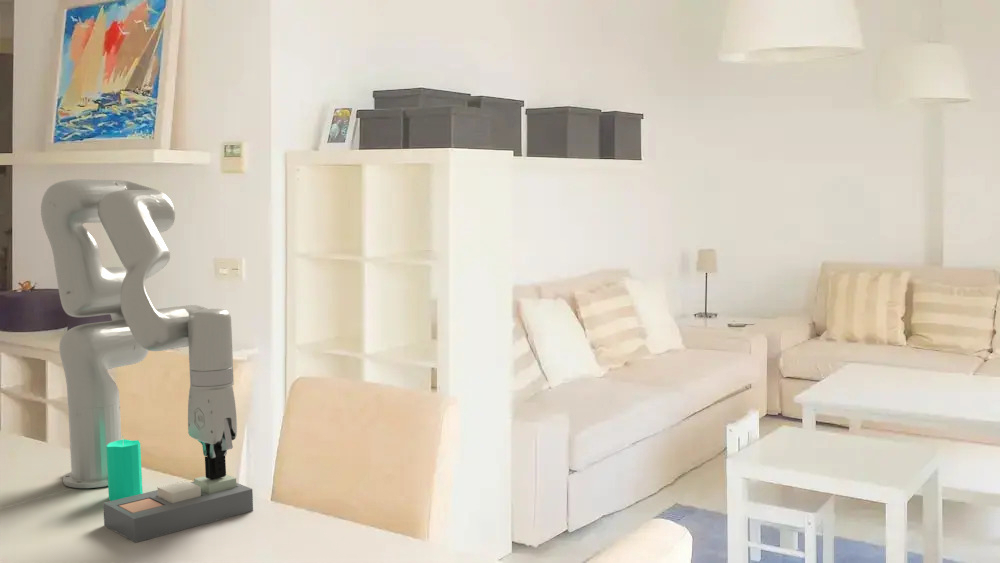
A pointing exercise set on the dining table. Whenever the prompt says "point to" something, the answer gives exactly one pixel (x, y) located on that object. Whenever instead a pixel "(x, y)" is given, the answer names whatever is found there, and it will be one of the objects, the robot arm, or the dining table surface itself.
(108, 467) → the candle
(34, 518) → the dining table surface
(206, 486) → the key sage
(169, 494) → the key cream
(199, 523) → the keypad
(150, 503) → the key terracotta
